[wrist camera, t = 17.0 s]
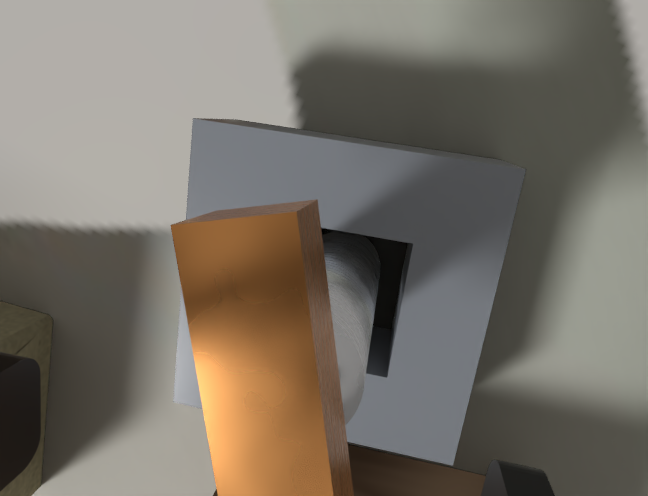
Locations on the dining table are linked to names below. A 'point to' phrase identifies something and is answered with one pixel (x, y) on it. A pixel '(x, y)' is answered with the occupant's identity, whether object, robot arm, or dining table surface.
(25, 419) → the robot arm
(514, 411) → the dining table surface
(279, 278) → the bar
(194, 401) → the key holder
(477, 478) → the block
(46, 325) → the tissue box
